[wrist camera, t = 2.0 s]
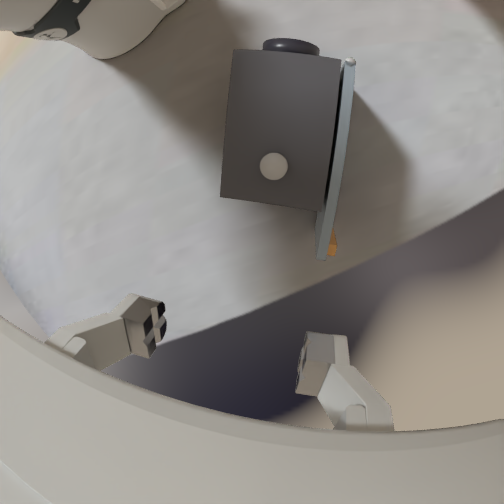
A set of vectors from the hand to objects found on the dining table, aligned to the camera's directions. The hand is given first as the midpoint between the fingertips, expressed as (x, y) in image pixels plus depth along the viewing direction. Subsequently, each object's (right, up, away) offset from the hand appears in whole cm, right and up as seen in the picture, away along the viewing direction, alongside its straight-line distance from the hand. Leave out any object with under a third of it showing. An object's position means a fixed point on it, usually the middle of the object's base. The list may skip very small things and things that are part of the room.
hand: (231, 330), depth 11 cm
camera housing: (+4, +15, +16) cm, 22 cm away
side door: (+9, +13, +16) cm, 22 cm away
